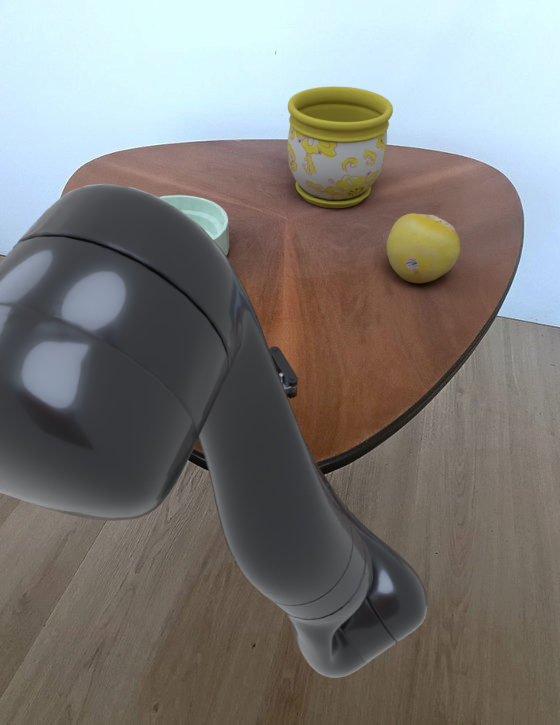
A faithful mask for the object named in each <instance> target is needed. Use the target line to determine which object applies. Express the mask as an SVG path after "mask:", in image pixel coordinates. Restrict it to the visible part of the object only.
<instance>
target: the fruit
mask: <svg viewBox="0 0 560 725" xmlns="http://www.w3.org/2000/svg"><path fill="white" fill-rule="evenodd" d="M460 253H461V242H460V238H459V236H458V234H457V232H456V229H455V227H454V226H453V225H452V224H451V223H449V222H447V221H446V220H445V219H442V218H440V217H439V216H437V215H434V214H424V213H415V212H413V213H411V212H410V213H407V214H405V215H402V216H401V217H399V218H398V219H397V220H396V221H395V222H394V224H393V225H392V227H391V229H390V231H389V234H388V237H387V241H386V255H387V258H388V261H389V264H390V266H391V269H393V271H394V272H395V273H396V274H397V275H398V276H399V277H400V278H401V279H402V280H404V281H407V282H409V283H412V284H425V283H430V282H432V281H435V280H437V279H439V278H441V277H442V276H444V275H445V274H446V273H448V272H450V270H451V269H452V268H453V267H454V266H455V264H456V263H457V261H458V259H459V256H460Z"/></svg>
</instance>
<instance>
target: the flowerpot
mask: <svg viewBox="0 0 560 725" xmlns="http://www.w3.org/2000/svg"><path fill="white" fill-rule="evenodd" d="M287 111H288V113H289V118H288V122H289V129H288V135H287V148H286V150H287V151H286V152H287V162H288V166H289V169H290V172H291V174H292V176H293V177H294V180H295V189H296V191H297V192H298V194H300V195H301V197H302V198H303V199H304V200H305V201H307V203H309V204H312V205H314V206H317V207H321V208H326V209H346V208H351V207H353V206H355V205H358V204H360V203H361V202H362V201H364V199H366V198H367V197H368V196H369V195H370V194H371V192H372V185H373V184H374V183H375V181H376V180H377V179H378V177H379V176H380V173H381V172H382V169H383V167H384V163H385V160H386V154H387V147H388V129H389V126H390V122H389V120H390V119H391V118H392V116H393V113H394V107H393V105H392V102H391V101H390V100H389V99H388V98H386V97H385V96H383V95H381V94H379V93H376V92H373V91H371V90H368V89H364V88H363V89H362V88H358V87H351V86H350V87H349V86H338V85H337V86H319V87H312V88H308V89H305V90H301V91H299V92H297V93H294V95H292V96H291V97H290V98H289V100H288V102H287Z"/></svg>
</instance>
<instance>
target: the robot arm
mask: <svg viewBox="0 0 560 725" xmlns="http://www.w3.org/2000/svg"><path fill="white" fill-rule="evenodd" d="M159 197H160V196H157V195H155V194H152V193H150V192H147V191H145V190H141V189H138V188H135V187H132V186H125V185H119V184H112V183H97V184H87V185H84V186H81V187H77V188H74V189H72V190H70V191H68V192H67V193H65V194H64V195H62V196H61V197H59V199H58V200H56V201H55V202H54V203H53V204H51V205H50V206H49V207H48V208H47V209H46V210H45V211H44V212H43V213H42V214H41V216H40V217H39V218H37V219H36V221H34V223H33V224H32V225H31V226H30V227H29V228H28V230H27V231H26V232H25V233H24V234H23V235H21V237H20V238H19V239H18V241H17V242H16V243H15V245H14V246H13V247H12V249H11V250H10V251H9V252H8V253H7V254H6V255H5V257H4V258H3V259H2V260H1V261H0V494H3V495H5V496H8V497H11V498H15V499H17V500H20V501H23V502H26V503H29V504H31V505H34V506H37V507H40V508H44V509H46V510H50V511H54V512H58V513H62V514H64V515H69V516H72V517H78V518H83V519H84V518H85V519H90V520H97V521H110V522H111V521H112V522H115V521H117V522H118V521H127V520H135V519H139V518H143V517H145V516H146V515H147V516H148V515H149V514H150V513H152V512H154V511H156V510H157V508H158V507H160V506H161V505H162V504H163V503H164V501H165V499H166V498H168V495H169V494H170V493H171V492H172V490H173V488H174V486H175V485H176V483H177V482H178V480H179V479H180V476H181V474H182V473H183V471H184V468H186V465H187V463H188V461H189V459H190V457H191V455H192V453H193V452H194V449H195V447H196V443H197V441H198V442H199V445H200V448H201V450H202V453H203V457H204V461H205V464H206V467H207V469H208V475H209V480H210V484H211V487H212V492H213V497H214V502H215V506H216V511H217V516H218V520H219V524H220V527H221V530H222V533H223V537H224V541H225V544H226V546H227V549H228V551H229V553H230V555H231V557H232V559H233V561H234V563H235V565H236V566H237V568H238V570H239V571H240V574H242V575H243V577H244V578H245V579H246V581H247V582H249V584H250V585H251V586H252V587H253V588H254V589H255V590H256V591H257V592H258V593H260V594H261V595H263V596H264V597H265V598H266V599H267V600H269V601H270V602H271V603H273V604H274V605H275V606H276V607H277V608H279V609H280V610H281V611H282V612H284V614H285V615H286V617H287V621H288V624H289V628H290V631H291V634H292V636H293V639H294V642H295V644H296V646H297V647H298V649H299V651H300V654H301V655H302V656H303V659H304V660H305V661H306V663H308V665H309V667H311V668H312V669H313V670H314V671H315V672H317V674H320V675H322V676H323V677H326V678H331V679H333V678H334V679H338V678H343V677H347V676H349V675H352V674H353V673H355V672H357V671H359V670H360V669H361V668H362V667H364V666H366V665H367V664H368V663H370V662H371V661H373V660H374V659H376V658H377V657H379V656H380V655H382V654H383V653H385V652H386V651H387V650H389V649H390V648H392V647H393V646H395V645H396V644H397V643H398V642H400V641H401V640H403V639H405V638H406V637H408V636H409V635H410V634H412V633H414V632H415V631H416V630H417V629H418V628H419V627H420V626H421V625H423V624H424V622H425V620H426V617H427V613H428V596H427V591H426V588H425V586H424V583H423V581H422V579H421V577H420V575H419V574H418V573H417V571H416V570H415V568H414V567H413V566H412V565H411V564H410V563H409V562H408V561H407V560H406V559H405V558H404V557H403V556H401V555H400V553H399V552H397V551H396V550H395V549H394V548H392V547H391V546H390V545H388V543H387V542H385V541H384V540H382V539H381V538H380V537H379V536H377V535H376V534H375V533H374V532H373V531H372V530H371V529H369V528H368V527H367V526H366V525H364V524H363V523H362V521H360V519H358V517H356V515H354V514H353V512H351V510H350V509H349V508H348V507H347V505H346V504H345V502H344V501H343V500H342V499H341V498H340V497H339V495H338V493H337V492H336V491H335V489H334V488H333V486H332V484H331V483H330V481H329V480H328V479H327V477H326V475H325V474H324V472H323V471H322V469H321V468H320V466H319V465H318V462H317V461H316V459H315V457H314V454H313V452H312V450H311V448H310V446H309V445H308V443H307V442H306V440H305V438H304V435H303V433H302V430H301V427H300V424H299V422H298V420H297V417H296V415H295V412H294V408H293V407H292V404H291V402H290V399H294V398H296V397H297V396H298V382H299V378H298V375H297V374H296V373H295V371H294V369H293V367H292V366H291V364H290V363H289V361H288V360H287V358H286V355H285V354H284V353H283V352H282V350H281V348H280V347H279V346H275V345H274V346H271V347H269V344H268V343H267V340H266V336H265V334H264V331H263V329H262V326H261V323H260V321H259V318H258V315H257V313H256V311H255V308H254V305H253V303H252V301H251V299H250V296H249V294H248V292H247V290H246V288H245V286H244V284H243V282H242V280H241V278H240V276H239V275H238V273H237V270H236V269H235V267H234V266H233V264H232V262H231V261H230V259H229V258H228V256H227V255H225V254H224V252H223V251H222V249H221V248H220V247H219V246H218V245H217V244H216V242H215V241H214V240H213V239H212V238H211V237H210V236H209V235H208V233H207V232H206V231H205V230H204V229H203V228H202V227H201V226H200V225H199V224H197V223H196V222H195V221H194V220H192V219H191V218H190V217H189V216H187V215H186V214H185V213H184V212H182V211H181V210H180V209H178V208H176V207H175V206H173V205H171V204H169V203H168V202H166V201H164V200H162V199H160V198H159Z"/></svg>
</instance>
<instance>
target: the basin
mask: <svg viewBox="0 0 560 725" xmlns="http://www.w3.org/2000/svg"><path fill="white" fill-rule="evenodd" d="M158 197H159V198H160V199H162V200H164V201H166V202H168V203H169V204H171V205H173V206H175V207H176V208H178V209H180V210H181V211H182V212H184V213H185V214H186V215H187V216H189V217H190V218H191V219H192V220H194V221H195V222H196V223H197V224H199V225H200V226H201V227H202V228H203V229H204V230H205V231H206V232H207V233H208V235H209V236H210V237H211V238H212V239H213V240H214V241H215V242H216V244H217V245H218V246H219V247H220V248H221V249H222V251H223V252H224V254H225V255H226V256H227V255H228V253H229V251H230V246H231V242H230V227H229V226H230V225H229V224H230V223H229V217H228V213H227V212H226V211H225V209H224V208H223V207H222V206H220V205H219V204H218V203H216V202H215V201H212V200H210V199H207V198H204V197H200V196H199V197H198V196H194V195H186V194H185V195H184V194H175V195H173V194H172V195H163V196H158Z"/></svg>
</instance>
